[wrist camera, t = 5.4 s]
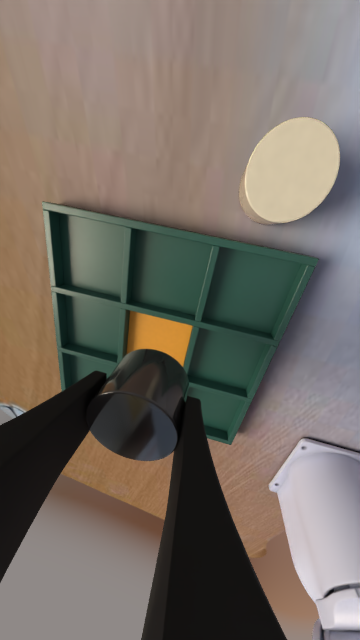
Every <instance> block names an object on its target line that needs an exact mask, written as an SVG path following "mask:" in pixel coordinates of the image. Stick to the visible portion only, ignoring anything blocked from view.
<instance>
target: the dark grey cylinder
mask: <svg viewBox="0 0 360 640" xmlns="http://www.w3.org/2000/svg"><path fill="white" fill-rule="evenodd" d="M188 389H189V380H188V376H187V374H186V372H185V370H184V368H183V367H182V365H181V364H180V363H179V362H178V361H177V360H176V359H175V358H173V357H172V356H170V355H168V354H167V353H164V352H162V351H159V350H155V349H138V350H135V351H132V352H130V353H128V354H127V355H125V356H124V357H123V358H122V359H121V361H120V362H119V363H118V365H117V366H116V367H115V369H114V370H113V371H112V373H111V374H110V375H109V377H108V378H107V379H106V381H105V382H104V383H103V385H102V386H101V387H100V389H99V390H98V391H97V393H96V394H95V395H94V397H93V398H92V399H91V401H90V402H89V404H88V406H87V409H86V422H87V425H88V428H89V430H90V431H91V433H92V434H93V436H94V437H95V438H96V439H97V440H98V441H99V442H100V443H101V444H102V445H103V446H105V447H106V448H108V449H109V450H111V451H112V452H114V453H116V454H118V455H121V456H123V457H126V458H129V459H133V460H139V461H154V460H159V459H162V458H165V457H167V456H168V455H170V454H171V453H172V452H173V451H174V450H175V448H176V447H177V445H178V442H179V437H180V431H181V424H182V417H183V412H184V407H185V402H186V398H187V394H188Z"/></svg>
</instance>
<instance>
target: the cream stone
mask: <svg viewBox="0 0 360 640" xmlns="http://www.w3.org/2000/svg"><path fill="white" fill-rule="evenodd" d="M339 165H340V149H339V144H338V141H337V139H336V136H335V134H334V133H333V131H332V130H331V129H330V128H329V127H328V126H327V125H326V124H325V123H323V122H322V121H319V120H317V119H314V118H309V117H300V118H294V119H290V120H287V121H285V122H283V123H281V124H279V125H277V126H276V127H274V128H273V129H272V130H270V131H269V132H268V133H267V134H266V135H265V136H264V137H263V138H262V139H261V141H260V142H259V143H258V145H257V146H256V148H255V149H254V151H253V153H252V155H251V157H250V159H249V162H248V164H247V166H246V168H245V171H244V173H243V175H242V178H241V181H240V186H239V199H240V204H241V207H242V209H243V211H244V212H245V214H246V215H247V216H248V217H249V218H250V219H251V220H253V221H255V222H257V223H260V224H265V225H270V224H279V223H286V222H292V221H295V220H298V219H300V218H302V217H304V216H306V215H308V214H309V213H310V212H312V211H313V210H314V209H316V208H317V207H318V206H319V205H320V204H321V203H322V202H323V200H324V199H325V198H326V197H327V195H328V194H329V192H330V190H331V189H332V187H333V185H334V183H335V180H336V177H337V174H338V170H339Z"/></svg>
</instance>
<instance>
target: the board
mask: <svg viewBox="0 0 360 640" xmlns="http://www.w3.org/2000/svg"><path fill="white" fill-rule="evenodd" d="M42 206H43V209H44V210H43V216H44V225H45V235H46V245H47V254H48V264H49V273H50V283H51V291H52V292H51V293H52V302H53V312H54V322H55V331H56V341H57V350H58V360H59V370H60V379H61V389H62V391H63V390H65V389H67V388H68V387H70V386H72V385H73V384H75V383H76V382H78V381H79V380H81V379H82V378H84V377H86V376H87V375H89V374H90V373H92V372H94V371H95V370H96V371H100V372H104V373H107V378H108V377H109V375H110V374H111V373H112V371H113V370H114V369H115V367H116V366H117V365H118V363H119V362H120V361H121V359H122V358H123V357H124V356H125V355H127V354H128V353H130V352H132V351H135V350H138V349H155V350H159V351H162V352H164V353H167V354H168V355H170V356H172V357H173V358H175V359H176V360H177V361H178V362H179V363H180V364H181V365H182V367H183V368H184V370H185V372H186V374H187V376H188V380H189V389H188V394H187V396H190V397H194V398H198V399H200V401H201V409H202V416H203V422H204V427H205V432H206V437H207V438H209V439H212V440H215V441H219V442H222V443H226V444H229V445H231V444H232V442H233V440H234V437H235V435H236V433H237V431H238V429H239V427H240V425H241V423H242V421H243V418H244V416H245V414H246V412H247V410H248V408H249V406H250V404H251V402H252V399H253V397H254V395H255V393H256V391H257V389H258V387H259V385H260V383H261V380H262V378H263V376H264V374H265V372H266V370H267V368H268V366H269V364H270V361H271V359H272V357H273V355H274V353H275V351H276V349H277V346H278V345H279V342H280V340H281V338H282V336H283V334H284V332H285V330H286V328H287V326H288V323H289V321H290V319H291V317H292V315H293V313H294V311H295V309H296V307H297V304H298V302H299V300H300V298H301V296H302V294H303V292H304V290H305V288H306V285H307V283H308V281H309V279H310V277H311V275H312V273H313V271H314V269H315V266H316V264H317V262H318V260H319V259H318V258H315V257H312V256H307V255H303V254H298V253H293V252H288V251H283V250H278V249H274V248H269V247H264V246H259V245H254V244H249V243H244V242H240V241H235V240H230V239H225V238H220V237H215V236H211V235H206V234H201V233H196V232H191V231H186V230H181V229H177V228H172V227H167V226H162V225H157V224H152V223H148V222H143V221H138V220H133V219H128V218H123V217H119V216H114V215H109V214H104V213H99V212H94V211H89V210H85V209H80V208H75V207H70V206H65V205H60V204H55V203H49V202H42Z"/></svg>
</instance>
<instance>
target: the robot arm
mask: <svg viewBox="0 0 360 640" xmlns="http://www.w3.org/2000/svg"><path fill="white" fill-rule="evenodd" d="M106 379H107V373H104V372H100V371H96V370H95V371H94V372H92V373H90V374H89V375H87V376H86V377H84V378H82V379H81V380H79V381H78V382H76V383H75V384H73V385H72V386H70V387H68V388H67V389H65V390H63V391H62V392H60V393H59V394H57V395H55V396H54V397H52V398H50V399H49V400H47V401H45V402H43V403H42V404H40V405H38V406H36V407H34V408H33V409H31V410H29V411H27V412H25V413H23V414H22V415H20V416H18V417H16V418H14V419H12V420H10V421H8V422H6V423H4V424H2V425H0V582H1V580H2V578H3V576H4V574H5V572H6V570H7V568H8V567H9V565H10V563H11V561H12V559H13V557H14V555H15V553H16V552H17V550H18V548H19V546H20V544H21V542H22V540H23V539H24V537H25V535H26V533H27V531H28V529H29V528H30V526H31V524H32V522H33V520H34V519H35V517H36V515H37V513H38V511H39V510H40V508H41V506H42V504H43V502H44V501H45V499H46V497H47V495H48V494H49V492H50V490H51V488H52V487H53V485H54V483H55V482H56V480H57V478H58V477H59V475H60V473H61V472H62V470H63V469H64V467H65V466H66V464H67V463H68V461H69V460H70V458H71V457H72V455H73V454H74V453H75V451H76V450H77V448H78V447H79V445H80V444H81V442H82V441H83V439H84V438H85V436H86V435H87V433H88V432H89V428H88V425H87V422H86V409H87V406H88V404H89V402H90V401H91V399H92V398H93V397H94V395H95V394H96V393H97V391H98V390H99V389H100V387H101V386H102V385H103V383H104V382H105V381H106ZM269 489H270V490H271V491H273V492H276V493H277V494H278V498H279V502H280V507H281V511H282V516H283V520H284V524H285V529H286V533H287V538H288V542H289V546H290V551H291V555H292V560H293V563H294V566H295V569H296V571H297V574H298V576H299V578H300V580H301V582H302V584H303V586H304V588H305V589H306V591H307V593H308V594H309V595H310V597H311V598H312V600H313V601H314V602H315V604H316V605H317V609H318V613H319V617H320V619H317V621H316V622H315V624H314V627H313V635H312V640H360V453H357V452H354V451H350V450H346V449H343V448H339V447H336V446H332V445H328V444H325V443H321V442H318V441H314V440H310V439H307V438H303V439H301V440H300V441H299V443H298V444H297V446H296V447H295V448H294V450H293V451H292V453H291V454H290V455H289V457H288V458H287V460H286V461H285V463H284V464H283V465H282V467H281V468H280V470H279V471H278V472H277V474H276V475H275V477H274V478H273V480H272V481H271V482H270V484H269ZM141 640H287V639H286V637H285V635H284V633H283V631H282V629H281V627H280V624H279V622H278V620H277V618H276V616H275V614H274V612H273V610H272V608H271V606H270V604H269V601H268V599H267V597H266V596H265V593H264V591H263V589H262V587H261V584H260V582H259V580H258V578H257V576H256V573H255V571H254V569H253V567H252V564H251V562H250V560H249V557H248V555H247V553H246V550H245V548H244V545H243V543H242V541H241V538H240V536H239V534H238V531H237V529H236V526H235V524H234V522H233V519H232V516H231V514H230V511H229V508H228V506H227V503H226V500H225V497H224V495H223V492H222V489H221V486H220V483H219V480H218V477H217V474H216V470H215V467H214V464H213V460H212V457H211V453H210V449H209V445H208V441H207V437H206V432H205V427H204V422H203V416H202V409H201V401H200V399H198V398H194V397H190V396H187V398H186V402H185V407H184V412H183V417H182V424H181V431H180V437H179V442H178V445H177V447H176V448H175V450H174V456H173V464H172V473H171V481H170V489H169V497H168V504H167V511H166V517H165V522H164V527H163V532H162V537H161V542H160V548H159V553H158V558H157V563H156V568H155V574H154V578H153V583H152V589H151V593H150V598H149V604H148V609H147V613H146V618H145V624H144V628H143V633H142V638H141Z"/></svg>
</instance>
